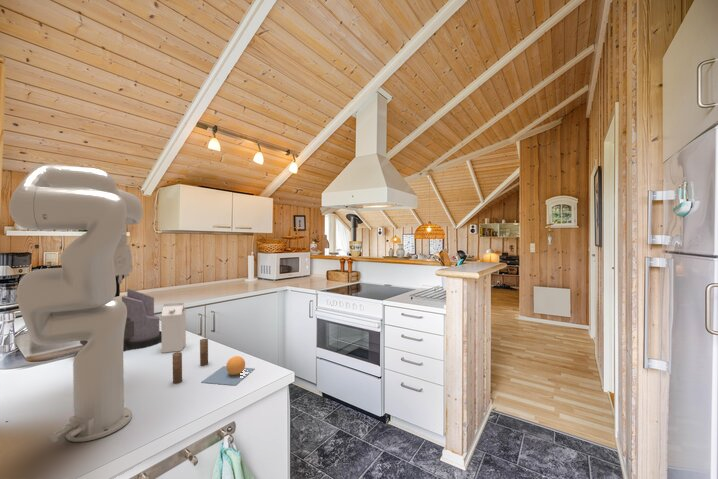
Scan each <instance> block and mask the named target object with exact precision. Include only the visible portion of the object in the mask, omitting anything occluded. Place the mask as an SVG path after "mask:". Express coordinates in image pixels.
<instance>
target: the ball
mask: <svg viewBox="0 0 718 479" xmlns="http://www.w3.org/2000/svg"><path fill="white" fill-rule="evenodd" d="M225 366H226V369H227V372H228V373H229V374H231V375H238V374H240V373H241V372H242V371H243V370H244V368H246V360H245V359H244V358H243V357H242V356H239V355H235V356H232V357H231V358H229V359H228V360H227V362H226V364H225Z"/></svg>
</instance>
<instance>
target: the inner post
mask: <svg viewBox="0 0 718 479" xmlns="http://www.w3.org/2000/svg"><path fill="white" fill-rule="evenodd" d="M182 382H183V353H182V351H176V352H173V353H172V384H179V383H182Z"/></svg>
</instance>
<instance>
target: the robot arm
mask: <svg viewBox="0 0 718 479" xmlns="http://www.w3.org/2000/svg"><path fill="white" fill-rule="evenodd" d="M116 183H117V182H115V179H114V177H113V176H112V175H110V174H109V173H108V172H107V171H105V170H103V169H99V168H95V167H89V166H88V167H87V166H78V165H77V166H76V165H75V166H74V165H64V164H62V165H61V164H51V163H46V164H45V163H44V164H41V165H40V164H39V166H38V165H37V166H36V167H35V168H33V169H32V170H31V171H29V172H28V173H27V174H26V175H25V177H24V178H23V179H22V181H21V182H20V183H19V184H18V186H17V187H16V188H15V190H14V191H13V193H12V195H11V197H10V200H9V204H8V205H9V214H10V218H11V219H12V220H13V222H14V224H16V225H18V226H19V227H21V228H23V229H27V230H33V231H34V230H35V231H86V232H85V233H83V234H82V235H79V237H77V238H75V239H74V240H73V241H71V243H69V244H68V245H67V247H66V248H65V249H63V251H62V252H61V254H60V258H59V261H60V264H61V267H52V268H51V267H50V268H49V267H48V268H40V269H39V268H38V269H34V270H32V271H31V270H30V271H29V272H27V273H24V275H23V276H22V277H21V279H20V280H19V283H18V286H17V290H16V300H17V304H18V308H19V312H20V314H21V316H22V320H23V323H24V325H25V328H26V330H27V333H28V336H29V338H30V340H31V341H32V343H34V344H36V345H39V346H49V345H50V346H52V345H57V344H58V345H59V344H65V343H72V342H80V341H84V340H85V341H88V342H87V344H86V345H85V346H82V347H83V348H82V347H81V348H82V349H81V348H80V349H81V350H80V349H79V350H80V351H79V350H78V351H79V352H78V351H77V352H78V353H77V352H76V353H77V355H75V357H74V358H73V364H72V376H73V377H72V378H73V380H72V381H73V382H72V383H73V415H72V416H71V417H69V419H68V423H67V424H66V425H65V426H64V427H63V428H60V429H58V430H57V431H55V432H53V433H52V434H51V435H50V437H49V438H50V441H51V442H53V443H56V442H58V441H60V440H61V439H64V438H66V439H67V440H68V441H69V442H77V443H81V442H89V441H94V440H97V439H100V438H103V437H106V436H108V435H110V434H113V433H115V432H116V431H118V430H121V429H122V428H123V427H125V426H126V425H127V424H128V423H129V422H130V421H131V419H132V416H133V411H132V410H131V409H130V408H128V407H125V380H124V379H125V378H124V376H125V375H124V374H125V371H124V352H123V341H124V331H125V324H126V318H127V307H126V305H125V303H124V302H123V301H122V299H118V298H117V297H120V296H121V295H120V293H121V292H120V290H121V289H120V287H121V284H122V282H123V280H124V279H125V278H127V277H129V276H130V274H131V273H132V272H133V257H132V256H133V255H132V251H131V246H130V245H129V243H127V242H128V239H127V237H128V236H127V229H128V228H127V226H129V225H131V226H133V225H134V226H136V225H138V224H140V223H141V222H142V221H143V218H144V208H143V204H142V201H141V199H140V198H139V196H137V195H135V194H133V193H131V192H127V191H125V190H122V189H119V188H118V187H117V184H116Z"/></svg>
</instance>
